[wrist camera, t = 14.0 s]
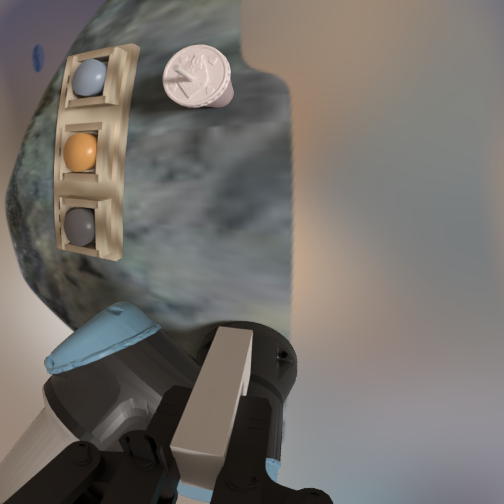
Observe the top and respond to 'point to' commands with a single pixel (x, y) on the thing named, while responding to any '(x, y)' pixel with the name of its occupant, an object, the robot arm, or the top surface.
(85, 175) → the button panel
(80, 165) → the orange button
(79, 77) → the blue button
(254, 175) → the top surface
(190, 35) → the top surface
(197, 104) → the smoothie
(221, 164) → the top surface
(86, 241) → the charcoal button
